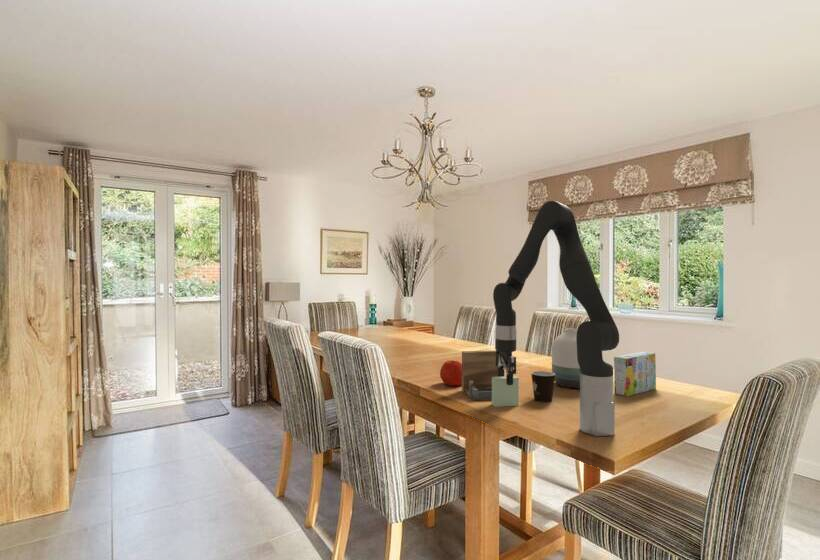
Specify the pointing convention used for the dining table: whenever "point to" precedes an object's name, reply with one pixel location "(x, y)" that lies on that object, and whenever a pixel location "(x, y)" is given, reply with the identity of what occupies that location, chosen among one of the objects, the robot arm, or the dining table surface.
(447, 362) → the apple
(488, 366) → the desk organizer
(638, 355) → the snack box
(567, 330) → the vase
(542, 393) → the coffee mug
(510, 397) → the pale green flat block
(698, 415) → the dining table surface
